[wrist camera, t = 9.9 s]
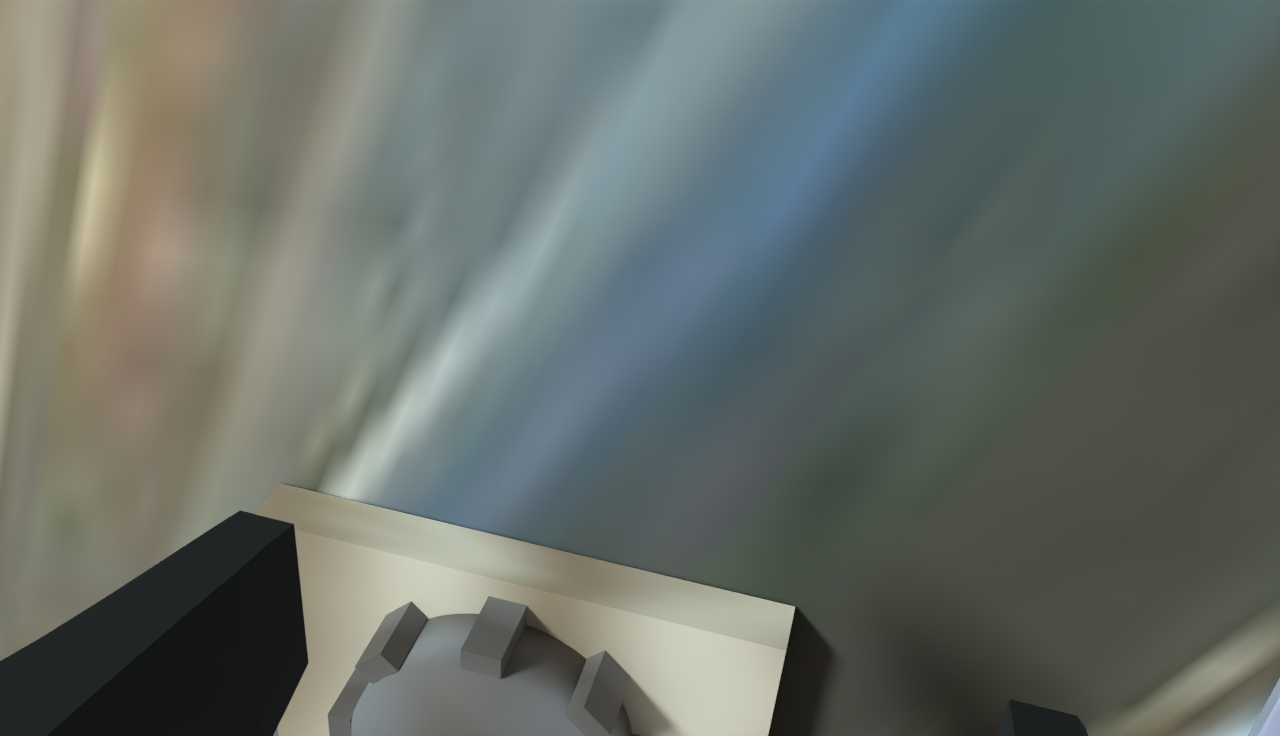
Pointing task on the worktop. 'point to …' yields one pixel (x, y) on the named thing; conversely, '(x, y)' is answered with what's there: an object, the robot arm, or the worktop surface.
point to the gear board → (512, 636)
